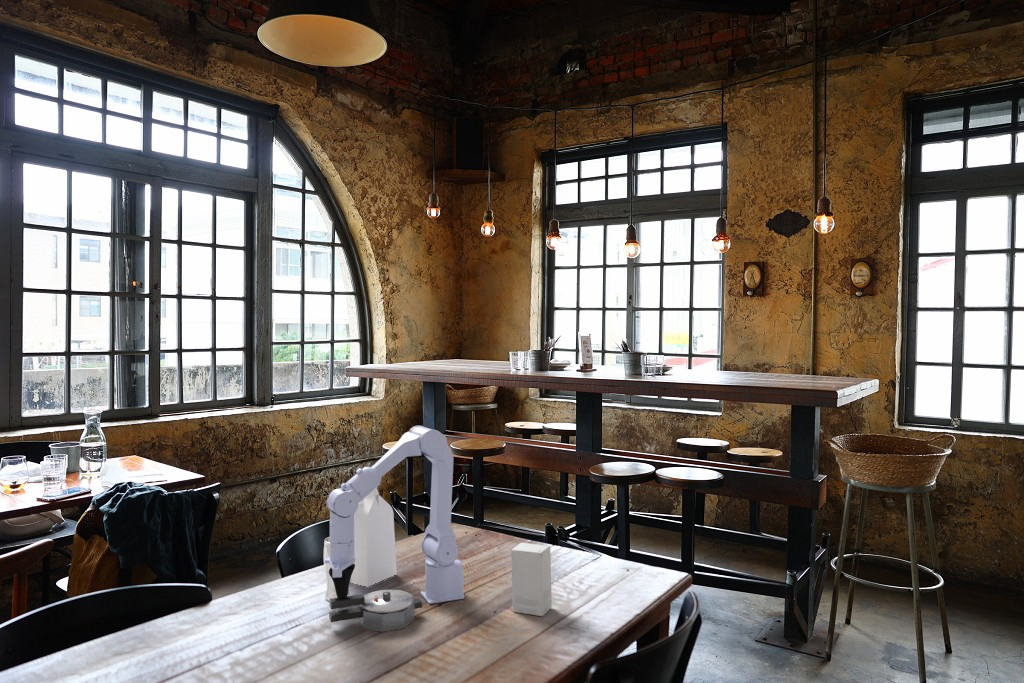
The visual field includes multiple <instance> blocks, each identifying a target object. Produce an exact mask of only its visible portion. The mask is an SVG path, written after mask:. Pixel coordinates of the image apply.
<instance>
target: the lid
mask: <svg viewBox="0 0 1024 683" xmlns="http://www.w3.org/2000/svg"><path fill="white" fill-rule="evenodd" d="M413 599H414V595H412V594H411V593H410V592H408V591H405V590H401V589H380V590H375V591H372V592H369V593H366V594H363V593H362V594H354V595H353V594H352V595H350V596H346V597H339V598H332V599H330V601H329V607H330V610H335V609H342V608H347V607H355V606H356V607H358V606H359V605H360V607H361V608H362V609H364V610H366V611H368V612H373V613H392V612H397V611H401V610H404V609H406V608H408V607H410V606H411V605H412V604H413Z"/></svg>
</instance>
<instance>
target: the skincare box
mask: <svg viewBox="0 0 1024 683" xmlns="http://www.w3.org/2000/svg"><path fill="white" fill-rule="evenodd" d="M510 556H511V557H510V558H511V559H510V560H511V561H510V562H511V593H512V594H511V596H512V597H511V598H512V601H511V602H512V612H513V613H520V614H527V615H531V616H532V615H533V616H538V617H543V616H545V615H546V614H547V612H549V611H550V610H551V609H552V605H553V603H552V563H551V546H550V545H544V544H536V543H528V542H520V543H518V544H517V545H516V546H514V547H513V548H512V549H511V550H510Z"/></svg>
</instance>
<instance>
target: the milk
mask: <svg viewBox="0 0 1024 683" xmlns="http://www.w3.org/2000/svg"><path fill="white" fill-rule="evenodd" d="M394 515H395V514H394V510H393V508H392V506H391V505H390V503H389V502H387V501H386V500H385V499H384V498H383V497H382V496H381V495H380V493H379V490H378V487H377V488H376V489H374V490H373V491H372V492H371V493H370V494H369V495H368V496H367V497H365V498H364V499H363V500H362V501H361V502H360V503H359V505H358V509H357V511H356V512H355V513H354V556H355V562H354V563H353V564H355V568H354V570H353V573H352V575H351V579H350V582H351V583H350V584H352V583H354V584H353V585H356V584H358V585H357V586H360V585H362V586H361V587H363V586H367V587H368V586H370V585H373V584H375V583H377V584H379V583H378V582H380V581H382V580H384V579H386V578H389V577H391V576H393V577H395V576H394V575H396V574H397V555H396V537H395V520H394V518H395V516H394ZM397 575H398V574H397ZM397 575H396V576H397ZM391 578H392V577H391ZM389 579H390V578H389ZM386 580H387V579H386ZM384 581H385V580H384ZM382 582H383V581H382ZM380 583H381V582H380ZM375 585H376V584H375ZM373 586H374V585H373ZM367 587H366V588H367ZM370 587H371V586H370ZM368 588H369V587H368Z"/></svg>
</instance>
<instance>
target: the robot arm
mask: <svg viewBox="0 0 1024 683" xmlns="http://www.w3.org/2000/svg"><path fill="white" fill-rule="evenodd" d="M422 454H423V455H424V456H425V457H426V458H427V460H428V461H430V462H431V486H430V507H429V508H430V510H429V524H428V525H427V526H426V528H425V532H424V537H423V539H422V540H421V551H422V552H423V554H424V555H425V571H424V572H425V579H424V580H425V587H424V589H425V590H422V591H420V595H421V596H422V597H423V599H424V600H425V601H426V602H427V603H428V604H429V605H432V604H438V603H439V604H440V603H445V602H451V601H456V600H463V599H465V595H464V593H465V590H464V588H465V587H464V581H465V577H464V575H465V574H464V572H465V571H464V566H463V563H462V561H461V560H460V559H457V558H458V556H459V547H458V545H457V543H456V542H457V541H456V533H455V531H454V530H453V527H452V525H451V523H452V504H453V502H452V501H453V499H452V498H453V480H454V479H453V478H454V476H453V474H454V454H453V452H452V450H451V448H450V445H449V444H448V438H447V436H446V435H444V434H443V433H442V432H440V431H439V430H436V429H432V428H429V427H425V426H424V425H415V426H412V427H411V428H410V429H409V431H407V432H404V434H402V435H401V437H400V438H399V440H397V442H396V443H395V444H393V446H392V447H391V448H390V449H389V450H388V451H387V452H385V454H384V455H382V456H381V458H379V460H377V461H376V462H375V463H374V464H373V465H372V466H364V467H362V468H360V467H359V468H358V469H357V470H355V473H356V474H355V475H353V476H352V477H351V478H350V479H349V480H347V481H346V482H345V483H344V482H343V483H342V484H340V487H339V488H336V489H333V490H332V491H331V492H330V493H329V494H328V497H327V500H326V501H325V504H326V507H327V509H328V510H329V537H330V558H326V559H325V563H329V564H330V566H331V568H330V569H329V575H330V576H331V578H332V580H333V582H334V586H335V590H336V595H337V598H339V597H346V596H347V595H348V590H349V591H350V589H349V588H350V584H351V583H350V579H351V575H352V573H353V570H354V568H355V564H353V563H354V562H355V556H354V513H355V512H356V511H357V509H358V505H359V503H360V502H361V501H362V500H363V499H364V498H365V497H367V496H368V495H369V494H370V493H371V492H372V491H373V490H374V489H376V488H377V489H378V487H379V486H380V485H381V481H382V477H383V476H385V475H386V474H387V473H388V472H389V471H391V470H392V469H393V468H395V467H396V466H397V465H398V464H400V463H401V462H402V461H403V460H404V459H405V458H407V457H419V456H422Z"/></svg>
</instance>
